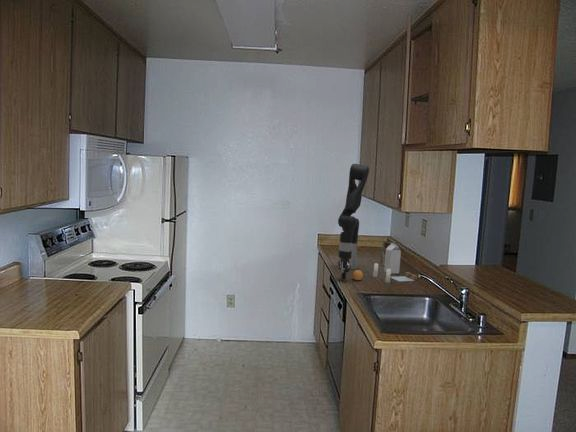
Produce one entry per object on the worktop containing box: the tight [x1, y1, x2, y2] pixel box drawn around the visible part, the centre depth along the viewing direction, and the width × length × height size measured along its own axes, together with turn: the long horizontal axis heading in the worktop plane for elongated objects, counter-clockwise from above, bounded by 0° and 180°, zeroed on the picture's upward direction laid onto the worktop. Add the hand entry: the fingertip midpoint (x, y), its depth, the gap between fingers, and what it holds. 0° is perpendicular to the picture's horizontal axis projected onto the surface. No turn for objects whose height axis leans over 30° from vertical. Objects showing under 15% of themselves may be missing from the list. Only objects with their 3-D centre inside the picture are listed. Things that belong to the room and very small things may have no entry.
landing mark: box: [390, 275, 415, 282], centre depth 295 cm, size 11×11×1 cm
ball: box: [352, 269, 364, 281], centre depth 285 cm, size 6×6×6 cm
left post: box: [372, 262, 379, 278], centre depth 297 cm, size 3×3×8 cm
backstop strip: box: [404, 271, 418, 282], centre depth 297 cm, size 10×2×3 cm, turn 18°
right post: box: [385, 269, 392, 284], centre depth 283 cm, size 3×3×8 cm
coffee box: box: [380, 241, 398, 267], centre depth 333 cm, size 9×6×16 cm
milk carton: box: [383, 242, 402, 275], centre depth 311 cm, size 7×7×19 cm
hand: (343, 278), depth 282 cm, fingers closed
